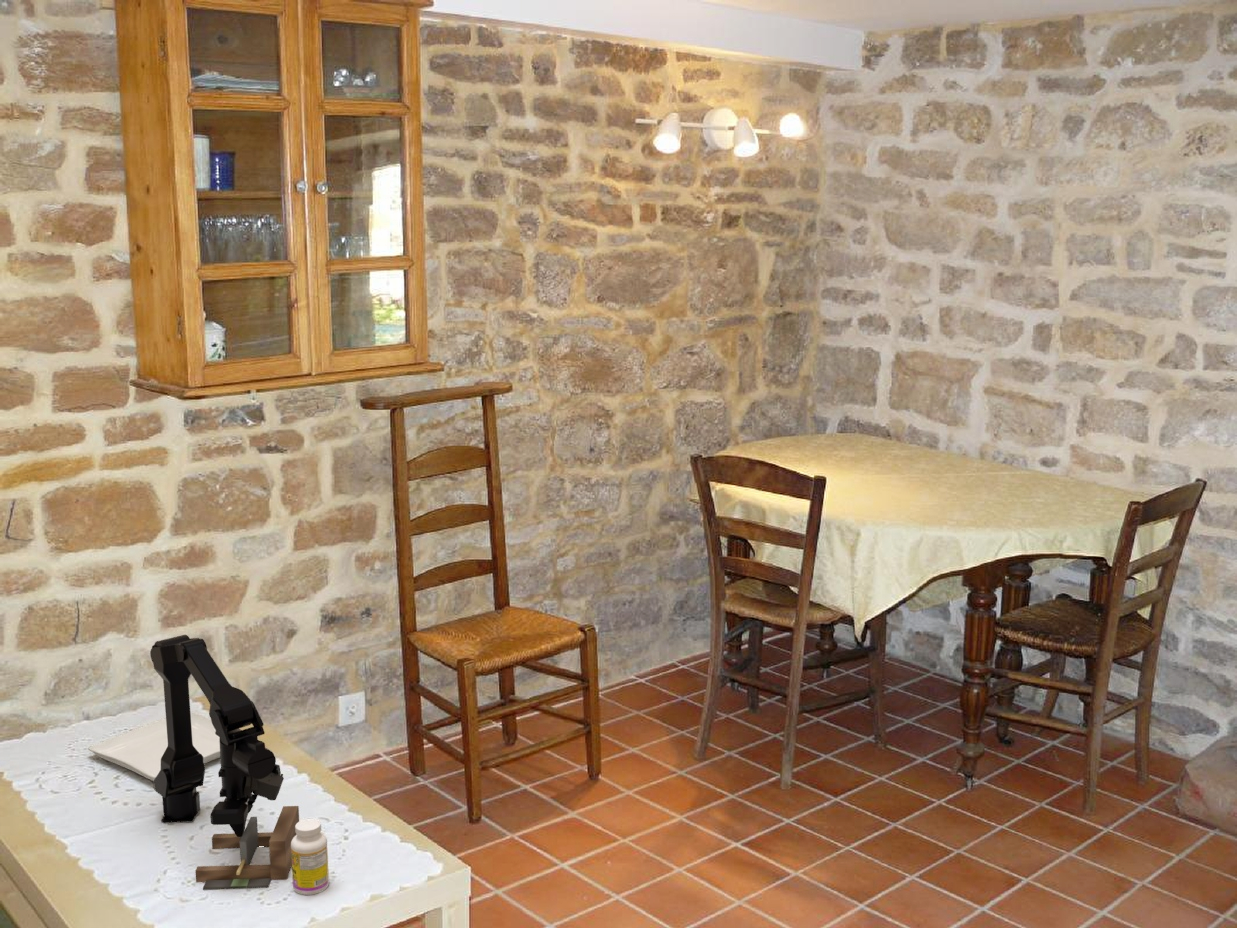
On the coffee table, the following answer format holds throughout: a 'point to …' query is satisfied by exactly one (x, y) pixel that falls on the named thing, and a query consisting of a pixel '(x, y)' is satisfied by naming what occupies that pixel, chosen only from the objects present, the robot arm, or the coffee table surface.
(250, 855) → the pad
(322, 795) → the coffee table surface
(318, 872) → the supplement bottle
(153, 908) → the coffee table surface
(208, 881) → the brown wooden frame
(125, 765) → the square plate
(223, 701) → the robot arm
